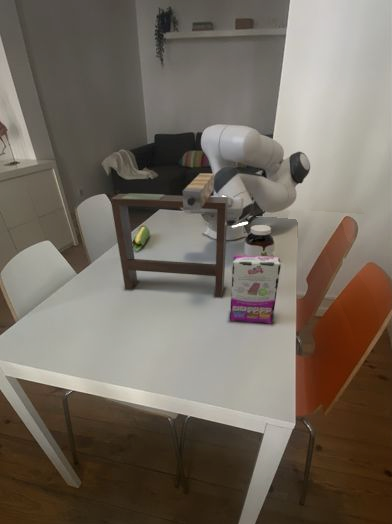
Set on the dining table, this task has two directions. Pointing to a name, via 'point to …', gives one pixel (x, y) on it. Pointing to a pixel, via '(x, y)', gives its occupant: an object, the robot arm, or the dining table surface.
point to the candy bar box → (254, 288)
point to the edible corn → (140, 237)
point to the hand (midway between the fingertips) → (208, 197)
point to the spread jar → (259, 241)
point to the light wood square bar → (198, 192)
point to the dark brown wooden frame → (134, 265)
